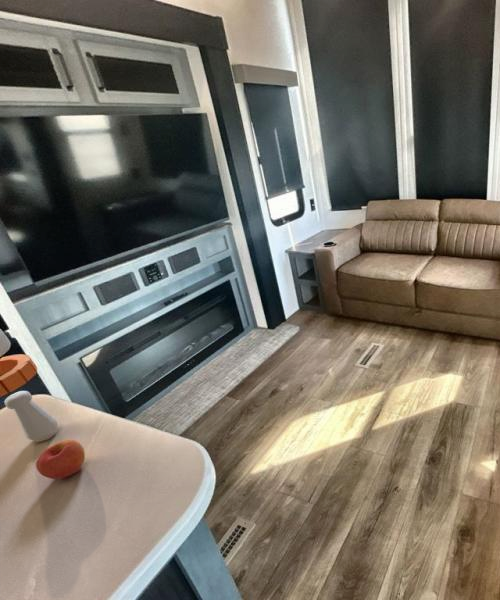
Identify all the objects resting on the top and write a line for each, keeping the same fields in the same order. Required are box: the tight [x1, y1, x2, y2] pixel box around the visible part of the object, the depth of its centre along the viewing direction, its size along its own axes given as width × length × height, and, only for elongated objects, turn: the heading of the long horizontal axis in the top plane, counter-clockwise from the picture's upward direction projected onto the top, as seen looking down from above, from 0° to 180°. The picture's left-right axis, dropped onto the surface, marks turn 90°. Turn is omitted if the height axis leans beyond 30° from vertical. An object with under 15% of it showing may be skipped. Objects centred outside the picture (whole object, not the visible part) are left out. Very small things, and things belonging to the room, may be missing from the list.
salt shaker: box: [3, 390, 59, 443], centre depth 85 cm, size 6×6×13 cm
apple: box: [35, 439, 86, 480], centre depth 75 cm, size 7×7×8 cm
